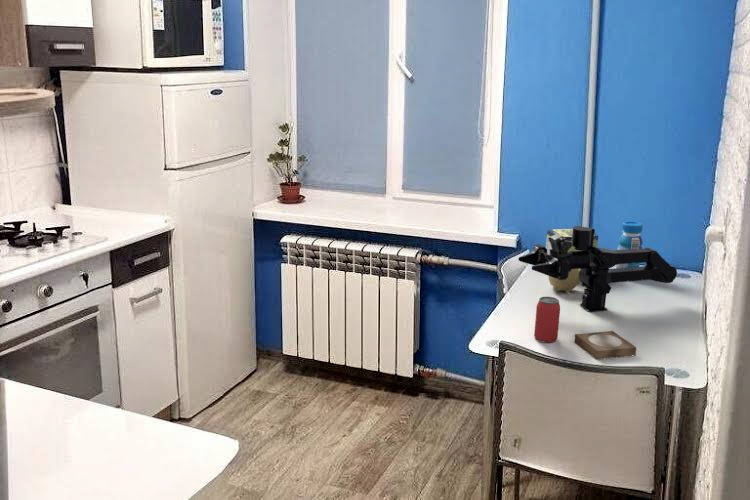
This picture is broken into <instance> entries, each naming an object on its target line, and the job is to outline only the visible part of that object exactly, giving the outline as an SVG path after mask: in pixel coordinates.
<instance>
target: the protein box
mask: <svg viewBox="0 0 750 500" xmlns="http://www.w3.org/2000/svg"><path fill="white" fill-rule="evenodd" d="M572 232H573V228H561V229H560V228H559V229H547V234H546V242H545V248H546V249H547V254H549V255H550V249H552V247H551V243H550V241H549V237H551V236H553V235H555V234H560V235H562V236H563V237H564V238H566V240H568V241H570V242H571V243H572ZM598 240H599V235H597V234H596V233H595V234H594V239H593V246H595V247H598ZM568 251H580V250H576V249H574V246H572V247H571V248H570V249H569V250H568ZM546 263H547V262H546Z"/></svg>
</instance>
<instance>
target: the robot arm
mask: <svg viewBox="0 0 750 500" xmlns="http://www.w3.org/2000/svg"><path fill="white" fill-rule="evenodd" d="M572 229H573V232H572V243H571V242H570V241H568V240H566V238H564V237H563V236H562V235H560V234H555V235H553V236H551V237H549V241H550V243H551V247H552V249H550V255H549V254H547V249H546V246H544V245H542V244H534V245H533V249H532V251H531V252H528V253H527V254H523V255H521V256H519V257H518V262H521V263H524V264H527V265H532V266H531V270H532V271H535V272H537V273H540V274H543V275H545V276H547V277H548V276H550V277H553V278H555V279H559V280H566V279H567V278H568V275H569V272H571V269H581V270H580V272H579V280H580V281H581V286H582V287H584V290H583V293H582V297H581V303H580V304H579V306H581V307H582V308H583V309H585V310H586V311H588V312H590V313H591V312H602V311H604V312H605V311H608V308H607V307H606V303H607V302H606V301H607V295H608V294H610V292H611V290H612V286H611V285H610V284H615V283H627V282H638V281H653V282H658V283H661V284H662V283H664V284H671V283H673V282H674V280H676V277H677V275H678V271H677V268H676V267H675V266H673V265H671V264H670V263H669V262H668V261H666V259H664V258H663V257H662V256H661V255H660V254H659V252H658V251H657V250H655V249H652V248H650V247H644V248H642V249H629V250H615V249H609V248H604V247H598V246H597V247H595V246H593V239H594V234H596V233H595V232H596V229H594V227H586V226H581V225H577V226H575V225H574V226H572ZM572 246H574V249H576V250H580V251H568V250H569V249H570V248H571V247H572ZM546 262H547V263H546ZM628 263H640V264H641V263H643V264H644V263H645V265H644V266H643V265H642V266H639V267H628V268H616V265H617V264H628ZM613 267H615V268H613Z"/></svg>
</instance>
